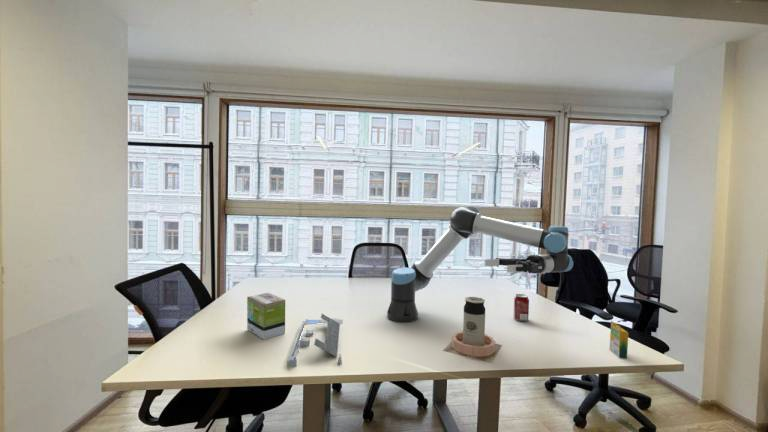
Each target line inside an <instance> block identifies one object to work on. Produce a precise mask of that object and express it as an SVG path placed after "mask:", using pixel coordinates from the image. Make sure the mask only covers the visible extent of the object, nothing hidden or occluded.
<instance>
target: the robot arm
mask: <svg viewBox="0 0 768 432" xmlns="http://www.w3.org/2000/svg"><path fill="white" fill-rule="evenodd" d="M472 234H473V235H476V234H481V235H485V236H491V237H494V238H498V239H502V240H506V241H510V242H516V243H519V244H523V245H526V246H530V247H535V248H538V249H539V248H540V249H542V250H546V251H547V254H530V255H528V256H527V257H526V258H521V259H520V258H505V257H504V258H503V257H502V258H501V257H496V258H489V259H488V258H487V259H484V267H497V268H498V267H499V266H505V267H506V270H507V271H506V273H508V274H509V273H513V274H514V273H529V274H542V275H545V274H546V273H564V272H569V271H571V270H572V269H573V268H574V261H573V257H572V256H571V255H569V254H568V248H569V247H568V245H569V227H567V226H563V225H562V226H561V225H560V226H559V225H550V226H549V227H548V230H547V229H543V228H538V227H533V226H530V225H525V224H521V223H515V222H511V221H506V220H504V219H498V218H493V217H489V216H485V215H483V214H482V212H481V211H480V210H479V209H478V208H476V207H473V206H459V207H457V208H455V209H454V210H453V211H452V212H451V214H450V219H449V222H448V229H446V231H445V232H443V234H442V235H441V236H440V237H439V239H438V240H437V241H436V242H435V243H434V245H433V246H432V247H431V248H430V249H429V250H428V251H427V252H426V253H425V254H424V256H423V257H422V258H421V259H420V260H416V261H415V262H414V263H412V265H411V267H398V268H395V269H393V271H392V273H391V279H390V281H391V285H390V286H391V287H390V289H391V291H390V294H391V295H390V303H389V306H388V309H387V311H386V313H387V314H386V318H387V319H389V320H391V321H393V322H399V323H409V322H415V321H416V320H418V319H419V312H418V309H417V305H416V292H418V291H420V290H423V289H425V288H427V286H428V285H429V284H430V281H431V279H433V277H434V271H436V269H437V268H438V267H439V266H440V265H441V264H442V262H443V261H444V260H445V259H446V258H447V257H448V256H449V255H450V254H451V253H452V252H453V250H455V248H456V247H457V246H458V245H459V244H460V243H461V241H462V240H467V239H469V238H470V236H471V235H472Z"/></svg>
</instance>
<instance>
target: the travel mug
mask: <svg viewBox="0 0 768 432" xmlns="http://www.w3.org/2000/svg"><path fill="white" fill-rule="evenodd" d="M464 301H465V303H464V305H463V319H462V320H463V323H462V325H463V327H462V332H463V344H467V345H471V346H484V335H485V330H486V307H485V301H486V300H485V298H482V297H479V296H467V297H465V298H464Z"/></svg>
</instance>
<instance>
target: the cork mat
mask: <svg viewBox="0 0 768 432" xmlns="http://www.w3.org/2000/svg"><path fill="white" fill-rule="evenodd" d="M502 347H503V344H499V343H495V353H494V354H493V355H490V356H486V357H473V356H468V355H464V354H461V353H459V352H457V351H456V350H454V349H453V347H452V341H451V342H449V344H447V346H445V347H444V348H443V350H442V351H443V352H445V353H446V352H447V353H450V354H456V355H458V356H463V357H467V358H472V359H475V360H479V361H482V362H487V363H490V364H492V363H493V361H494V360H495V358H496V357H497V355H498V353H499V352H500V350H501V348H502Z"/></svg>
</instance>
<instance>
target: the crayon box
mask: <svg viewBox="0 0 768 432" xmlns="http://www.w3.org/2000/svg"><path fill="white" fill-rule="evenodd" d="M609 337H610V339H609V350H610V351H611V352H612V353H613V354H614V355H615V356H616V357H618V358H619V359H620V358H621V359H628V345H629V344H628V343H629V332H628V331H627V330H625V329H624V328H623V327H621V325H619V324H617V323H616V322H614V321H612V320H611V321H610V336H609Z"/></svg>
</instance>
